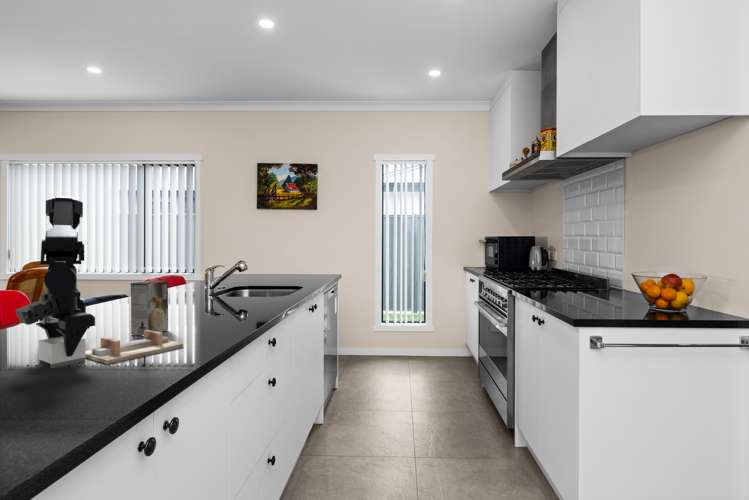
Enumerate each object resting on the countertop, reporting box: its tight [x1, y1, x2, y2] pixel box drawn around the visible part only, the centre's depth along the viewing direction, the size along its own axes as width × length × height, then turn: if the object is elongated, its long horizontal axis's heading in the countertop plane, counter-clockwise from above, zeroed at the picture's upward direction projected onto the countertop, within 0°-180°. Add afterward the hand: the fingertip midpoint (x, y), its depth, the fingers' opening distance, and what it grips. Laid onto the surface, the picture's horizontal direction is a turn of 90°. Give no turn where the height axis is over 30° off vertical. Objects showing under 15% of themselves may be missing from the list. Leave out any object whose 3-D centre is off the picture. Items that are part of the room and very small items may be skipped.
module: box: [38, 337, 86, 369], centre depth 104 cm, size 7×7×6 cm
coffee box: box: [130, 280, 169, 335], centre depth 137 cm, size 9×6×16 cm
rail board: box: [85, 330, 184, 365], centre depth 115 cm, size 14×20×4 cm
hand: (62, 353), depth 104 cm, fingers closed on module, 7 cm apart
